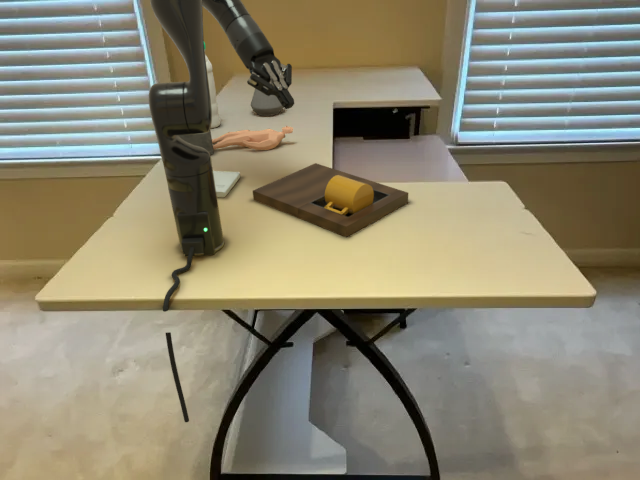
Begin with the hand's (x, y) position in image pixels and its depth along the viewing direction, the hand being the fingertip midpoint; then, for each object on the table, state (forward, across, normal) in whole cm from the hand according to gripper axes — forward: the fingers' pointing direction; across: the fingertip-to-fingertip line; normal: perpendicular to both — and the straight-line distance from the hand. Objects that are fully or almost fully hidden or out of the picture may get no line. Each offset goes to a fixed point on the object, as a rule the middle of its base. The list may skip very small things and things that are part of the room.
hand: (290, 106), depth 137 cm
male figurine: (-9, +14, +37) cm, 41 cm away
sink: (+27, 0, +2) cm, 27 cm away
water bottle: (-26, +18, +55) cm, 63 cm away
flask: (-15, -2, +44) cm, 46 cm away
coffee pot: (-25, +42, +54) cm, 73 cm away
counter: (+22, 0, +6) cm, 23 cm away
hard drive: (+2, -11, +26) cm, 29 cm away
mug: (+22, -2, +2) cm, 22 cm away
